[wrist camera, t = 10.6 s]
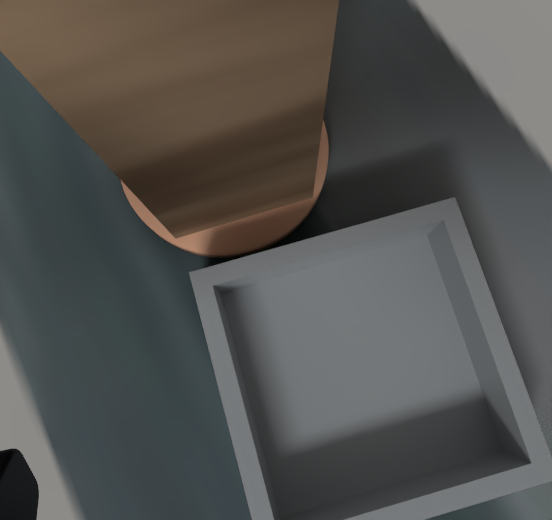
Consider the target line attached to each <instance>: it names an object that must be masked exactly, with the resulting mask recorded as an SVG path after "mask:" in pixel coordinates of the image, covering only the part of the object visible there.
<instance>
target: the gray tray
mask: <svg viewBox="0 0 552 520" xmlns="http://www.w3.org/2000/svg"><path fill="white" fill-rule="evenodd" d="M189 274H190V278H191V282H192V286H193V290H194V294H195V298H196V301H197V305H198V309H199V313H200V317H201V321H202V325H203V329H204V333H205V337H206V341H207V345H208V349H209V352H210V356H211V360H212V364H213V368H214V372H215V376H216V380H217V384H218V388H219V392H220V396H221V400H222V403H223V407H224V411H225V415H226V419H227V423H228V427H229V431H230V435H231V439H232V443H233V447H234V451H235V454H236V458H237V462H238V466H239V470H240V474H241V478H242V482H243V486H244V490H245V494H246V498H247V502H248V505H249V509H250V513H251V517H252V520H425V519H428V518H431V517H435V516H438V515H441V514H445V513H448V512H451V511H455V510H458V509H461V508H465V507H468V506H471V505H474V504H478V503H481V502H484V501H488V500H491V499H494V498H498V497H501V496H504V495H508V494H511V493H514V492H518V491H521V490H524V489H528V488H531V487H534V486H538V485H541V484H544V483H548V482H551V481H552V457H551V454H550V451H549V449H548V446H547V443H546V441H545V438H544V435H543V433H542V430H541V427H540V425H539V422H538V419H537V416H536V414H535V411H534V408H533V406H532V403H531V400H530V398H529V395H528V392H527V389H526V387H525V384H524V381H523V379H522V376H521V373H520V371H519V368H518V365H517V362H516V360H515V357H514V354H513V352H512V349H511V346H510V344H509V341H508V338H507V336H506V333H505V330H504V327H503V325H502V322H501V319H500V317H499V314H498V311H497V309H496V306H495V303H494V300H493V298H492V295H491V292H490V290H489V287H488V284H487V282H486V279H485V276H484V273H483V271H482V268H481V265H480V263H479V260H478V257H477V255H476V252H475V249H474V247H473V244H472V241H471V238H470V236H469V233H468V230H467V228H466V225H465V222H464V220H463V217H462V214H461V211H460V209H459V206H458V203H457V201H456V198H455V197H453V198H450V199H446V200H442V201H439V202H435V203H432V204H428V205H425V206H421V207H418V208H414V209H411V210H407V211H404V212H400V213H397V214H393V215H390V216H386V217H383V218H379V219H376V220H372V221H369V222H365V223H362V224H358V225H355V226H351V227H347V228H344V229H340V230H337V231H333V232H330V233H326V234H323V235H319V236H316V237H312V238H309V239H305V240H302V241H298V242H295V243H291V244H288V245H284V246H281V247H277V248H274V249H270V250H267V251H263V252H260V253H256V254H252V255H249V256H245V257H242V258H238V259H235V260H231V261H228V262H224V263H221V264H217V265H214V266H210V267H207V268H203V269H200V270H196V271H193V272H189Z"/></svg>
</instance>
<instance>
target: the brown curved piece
mask: <svg viewBox="0 0 552 520" xmlns="http://www.w3.org/2000/svg"><path fill="white" fill-rule="evenodd" d="M328 156H329V145H328V135H327V131H326V127H325V123H324V120H323V125H322V132H321V140H320V147H319V155H318V162H317V170H316V177H315V184H314V192H313V197H312V198H309V199H306V200H302V201H299V202H296V203H293V204H289V205H286V206H283V207H279V208H276V209H273V210H269V211H266V212H263V213H259V214H256V215H253V216H249V217H246V218H243V219H239V220H236V221H233V222H229V223H226V224H223V225H219V226H216V227H213V228H209V229H206V230H203V231H199V232H196V233H193V234H189V235H186V236H183V237H180V238H176V239H175V238H174V237H173V235H172V234H171V233H170V232H169V231H168V230H167V229H166V228H165V227H164V226H163V225H162V224H161V223H160V222H159V220H158V219H157V218H156V217H155V216H154V215H153V214H152V213H151V212H150V211H149V210H148V209H147V208H146V206H145V205H144V204H143V203H142V202H141V201H140V200H139V199H138V198H137V197H136V196H135V195H134V194H133V193H132V191H131V190H130V189H129V188H128V187H127V186H126V185H125V184H124V183H123V182H122V181H121V183H122V186H123V189H124V192H125V194H126V196H127V198H128V201H129V203H130V204H131V206H132V207H133V209H134V210H135V212H136V213H137V215H138V216H139V217H140V218H141V219H142V220H143V221H144V223H145V224H146V225H147V226H148V227H149V228H151V229H152V230H153V231H154V232H155V233H156V234H157V235H159V236H160V237H161V238H162V239H164V240H165V241H167V242H168V243H170V244H171V245H173V246H175V247H177V248H179V249H182V250H184V251H186V252H189V253H193V254H196V255H200V256H205V257H211V258H233V257H241V256H246V255H250V254H254V253H257V252H260V251H262V250H265V249H267V248H269V247H271V246H273V245H275V244H277V243H279V242H280V241H282V240H283V239H285V238H286V237H288V236H289V235H290V234H291V233H292V232H293V231H295V230H296V229H297V228H298V227H299V226H300V225H301V224H302V223H303V221H304V220H305V219H306V218H307V217H308V215H309V214H310V212H311V211H312V209H313V208H314V206H315V204H316V202H317V200H318V198H319V196H320V194H321V191H322V188H323V185H324V182H325V177H326V171H327V165H328Z"/></svg>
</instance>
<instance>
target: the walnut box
mask: <svg viewBox="0 0 552 520" xmlns="http://www.w3.org/2000/svg"><path fill="white" fill-rule="evenodd" d="M338 6H339V0H0V51H1V52H2V53H3V54H4V55H5V56H6V57H7V58H8V59H9V60H10V62H11V63H12V64H13V65H14V66H15V67H16V68H17V69H18V70H19V71H20V72H21V73H22V74H23V76H24V77H25V78H26V79H27V80H28V81H29V82H30V83H31V84H32V85H33V86H34V87H35V88H36V89H37V91H38V92H39V93H40V94H41V95H42V96H43V97H44V98H45V99H46V100H47V101H48V102H49V103H50V104H51V106H52V107H53V108H54V109H55V110H56V111H57V112H58V113H59V114H60V115H61V116H62V117H63V118H64V120H65V121H66V122H67V123H68V124H69V125H70V126H71V127H72V128H73V129H74V130H75V131H76V132H77V133H78V135H79V136H80V137H81V138H82V139H83V140H84V141H85V142H86V143H87V144H88V145H89V146H90V147H91V149H92V150H93V151H94V152H95V153H96V154H97V155H98V156H99V157H100V158H101V159H102V160H103V161H104V162H105V164H106V165H107V166H108V167H109V168H110V169H111V170H112V171H113V172H114V173H115V174H116V175H117V176H118V178H119V179H120V180H121V181H122V182H123V183H124V184H125V185H126V186H127V187H128V188H129V189H130V190H131V191H132V193H133V194H134V195H135V196H136V197H137V198H138V199H139V200H140V201H141V202H142V203H143V204H144V205H145V206H146V208H147V209H148V210H149V211H150V212H151V213H152V214H153V215H154V216H155V217H156V218H157V219H158V220H159V222H160V223H161V224H162V225H163V226H164V227H165V228H166V229H167V230H168V231H169V232H170V233H171V234H172V235H173V237H174V238H175V239H176V238H180V237H183V236H186V235H189V234H193V233H196V232H199V231H203V230H206V229H209V228H213V227H216V226H219V225H223V224H226V223H229V222H233V221H236V220H239V219H243V218H246V217H249V216H253V215H256V214H259V213H263V212H266V211H269V210H273V209H276V208H279V207H283V206H286V205H289V204H293V203H296V202H299V201H302V200H306V199H309V198H312V197H313V192H314V184H315V177H316V170H317V162H318V155H319V147H320V140H321V132H322V125H323V117H324V110H325V103H326V95H327V88H328V80H329V73H330V65H331V58H332V51H333V43H334V36H335V28H336V21H337V13H338Z"/></svg>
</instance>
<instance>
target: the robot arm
mask: <svg viewBox="0 0 552 520" xmlns="http://www.w3.org/2000/svg"><path fill="white" fill-rule="evenodd" d="M38 498H39V491H38V484H37V481H36V479H35V477H34V475H33V473H32V471H31V470H30V468H29V466H28V464H27V462H26V460H25V459H24V457H23V455H22V454H21V452H20V451H19V450H17V449H8V450H3V451H0V520H36V517H37V507H38Z"/></svg>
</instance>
